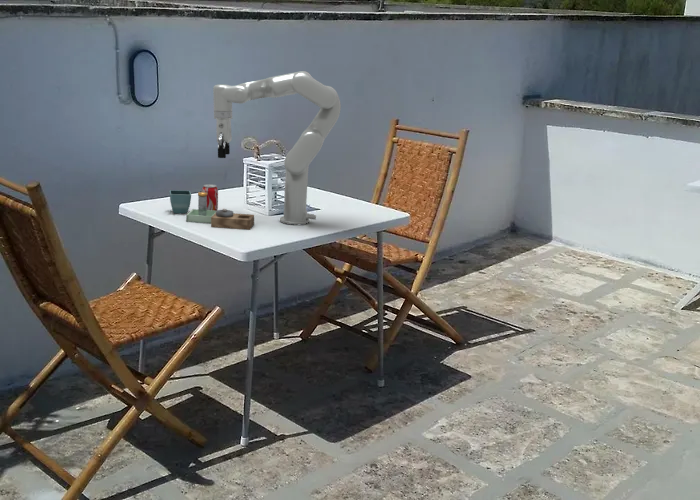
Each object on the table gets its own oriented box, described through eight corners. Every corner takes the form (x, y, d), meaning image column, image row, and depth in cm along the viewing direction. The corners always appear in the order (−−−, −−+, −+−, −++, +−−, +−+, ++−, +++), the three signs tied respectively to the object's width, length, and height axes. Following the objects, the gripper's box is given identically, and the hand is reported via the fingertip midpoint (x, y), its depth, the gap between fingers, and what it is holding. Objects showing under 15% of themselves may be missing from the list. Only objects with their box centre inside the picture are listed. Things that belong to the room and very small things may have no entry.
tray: (218, 217, 343) (218, 210, 342) (212, 223, 332) (212, 216, 331) (192, 215, 343) (192, 209, 342) (186, 221, 332) (186, 214, 332)
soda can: (214, 214, 347) (214, 187, 344) (198, 213, 348) (199, 186, 345) (220, 211, 354) (220, 184, 350) (205, 209, 355) (205, 183, 352)
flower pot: (189, 210, 353) (189, 190, 350) (191, 214, 345) (191, 194, 342) (169, 210, 350) (169, 190, 348) (170, 214, 342) (170, 194, 340)
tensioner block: (254, 224, 336) (254, 208, 334) (250, 229, 326) (250, 214, 324) (216, 221, 336) (216, 205, 335) (211, 227, 327) (211, 211, 325)
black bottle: (207, 217, 339) (208, 192, 336) (205, 219, 335) (206, 193, 332) (199, 216, 339) (199, 191, 336) (196, 219, 336) (197, 193, 332)
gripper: (228, 117, 324) (229, 159, 328) (235, 113, 340) (235, 153, 345) (210, 117, 324) (211, 159, 328) (217, 112, 340) (218, 152, 345)
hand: (223, 156), depth 336 cm, fingers open, 9 cm apart
